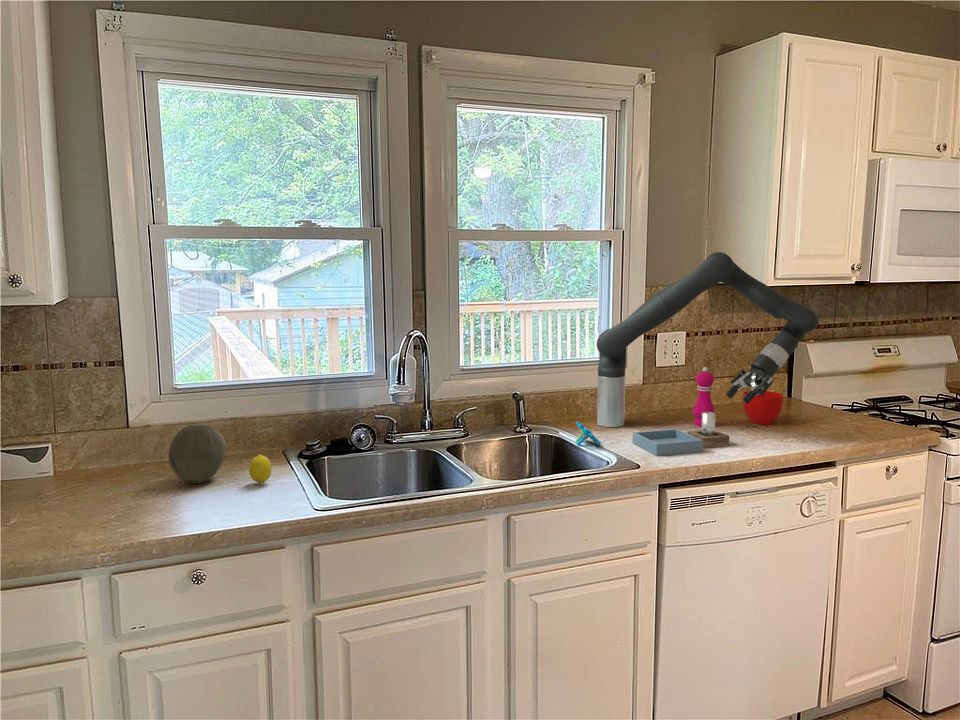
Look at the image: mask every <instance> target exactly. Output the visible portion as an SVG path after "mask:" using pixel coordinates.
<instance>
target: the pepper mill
mask: <svg viewBox="0 0 960 720" xmlns="http://www.w3.org/2000/svg"><path fill="white" fill-rule="evenodd" d="M695 382H696V384H697V385H696V390H697V392H698V396H697V400H696V402H695V404H694V406H693V409H692V415H693V416H694V417H695V418H694V419H693V424H694V425H695V426H696V427H702V412H713V413H716V410H715V406H714V404H713V402H712V398H711V397H712V396H711V394H712V391H713V386H712V385H713V384H714V382H715V377H714V375H713V374H712V372H710V371H709V369H708V367H707V366H703V368H702V371H701V372H699V373H697V374H696V377H695Z"/></svg>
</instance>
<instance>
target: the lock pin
mask: <svg viewBox="0 0 960 720" xmlns="http://www.w3.org/2000/svg"><path fill="white" fill-rule="evenodd" d="M716 415H717V414H716V412H715V413H713V412H702V426H700V427H701V435H703V436H715V431H716Z"/></svg>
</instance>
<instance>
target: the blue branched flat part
mask: <svg viewBox="0 0 960 720" xmlns="http://www.w3.org/2000/svg"><path fill="white" fill-rule="evenodd" d="M575 425H576V426H577V427H578V428H579V430H580V433H579V436H578V437H577V438H576V439H575V442H576V446H578V447H579V446H580V445H582V443H583V442H584V441H585V440H587V439H588V438H590V440H592V441H593V442H594V443H595V444H596V445H598V446H600V445H601V444H602V442H601V441H600V440H599V439H598V438H597V437H596V436H594V434H593V432H592V430H591V429H588V428H586V427H585V426H584V425H583V424H582V423H581V422H579V421H576V423H575Z"/></svg>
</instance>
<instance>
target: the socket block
mask: <svg viewBox="0 0 960 720" xmlns="http://www.w3.org/2000/svg"><path fill="white" fill-rule="evenodd" d="M686 433H687V434H689V435H692V436H694V437H696V438H699V439H701V440H703V449H707V448H709V449H710V448H718V447H719V448H720V447H728V446H729V447H730V435H727V434H726V433H725V434H724V432H723V433H722V432H720V431H718V430H715V436H703V435H701V430H690V431H689V430H688V431H686Z"/></svg>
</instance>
